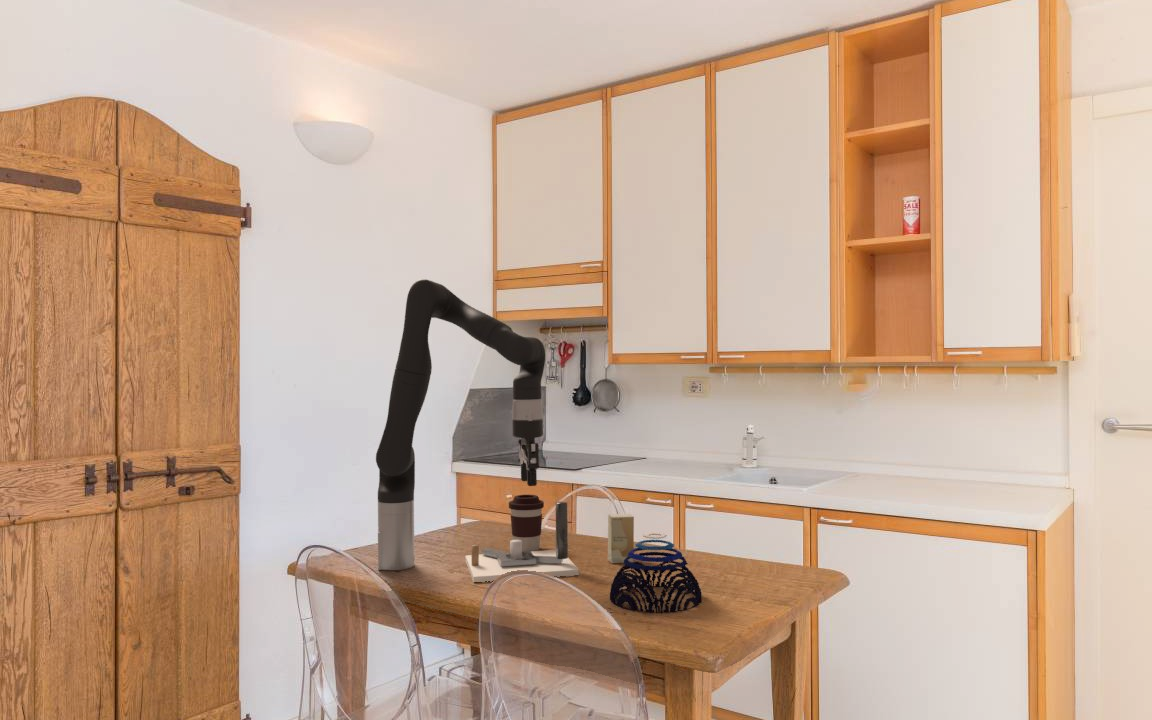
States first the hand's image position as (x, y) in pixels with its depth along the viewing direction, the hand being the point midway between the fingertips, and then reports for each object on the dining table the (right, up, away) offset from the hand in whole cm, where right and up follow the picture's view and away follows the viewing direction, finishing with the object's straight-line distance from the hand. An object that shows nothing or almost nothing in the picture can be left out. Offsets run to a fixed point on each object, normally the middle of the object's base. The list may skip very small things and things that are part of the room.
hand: (528, 483), depth 198 cm
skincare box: (+24, -23, +14) cm, 36 cm away
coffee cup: (-2, -23, +29) cm, 37 cm away
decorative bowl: (+29, -23, -19) cm, 42 cm away
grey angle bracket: (-2, -21, +11) cm, 24 cm away
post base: (-4, -23, +8) cm, 25 cm away
